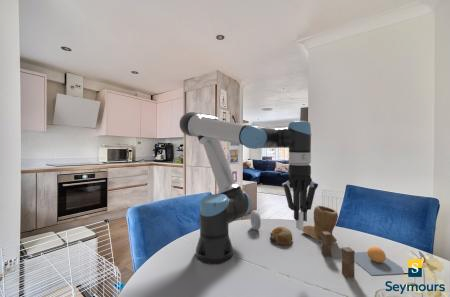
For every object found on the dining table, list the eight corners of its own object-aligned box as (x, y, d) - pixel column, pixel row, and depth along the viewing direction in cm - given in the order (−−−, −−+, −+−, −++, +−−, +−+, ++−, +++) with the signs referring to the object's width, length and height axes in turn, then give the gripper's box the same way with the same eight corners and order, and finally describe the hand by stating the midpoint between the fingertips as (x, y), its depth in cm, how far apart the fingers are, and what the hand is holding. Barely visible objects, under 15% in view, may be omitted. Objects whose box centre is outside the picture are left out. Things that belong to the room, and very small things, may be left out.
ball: (382, 269, 73) (372, 258, 72) (369, 260, 78) (361, 250, 78) (392, 258, 73) (383, 248, 73) (379, 250, 79) (371, 240, 78)
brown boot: (344, 243, 90) (344, 210, 89) (322, 247, 86) (322, 213, 86) (319, 229, 104) (319, 201, 104) (300, 232, 101) (300, 203, 101)
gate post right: (346, 278, 66) (347, 251, 66) (341, 273, 69) (341, 247, 69) (354, 277, 67) (354, 251, 66) (349, 272, 69) (349, 247, 69)
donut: (249, 225, 110) (249, 207, 110) (255, 225, 111) (255, 207, 110) (255, 233, 100) (255, 214, 100) (261, 233, 101) (261, 213, 100)
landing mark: (371, 275, 68) (371, 275, 68) (344, 253, 82) (344, 252, 82) (410, 273, 69) (410, 272, 69) (376, 251, 83) (376, 251, 83)
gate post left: (325, 257, 79) (325, 234, 79) (321, 253, 82) (321, 231, 81) (331, 256, 79) (331, 234, 79) (327, 253, 82) (327, 231, 82)
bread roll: (289, 254, 88) (298, 239, 87) (268, 242, 89) (276, 227, 89) (287, 243, 97) (294, 229, 96) (268, 233, 99) (275, 219, 98)
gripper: (286, 165, 68) (286, 233, 69) (322, 164, 69) (322, 232, 70) (278, 163, 76) (278, 225, 76) (311, 163, 77) (311, 224, 77)
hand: (299, 228), depth 73 cm, fingers closed
